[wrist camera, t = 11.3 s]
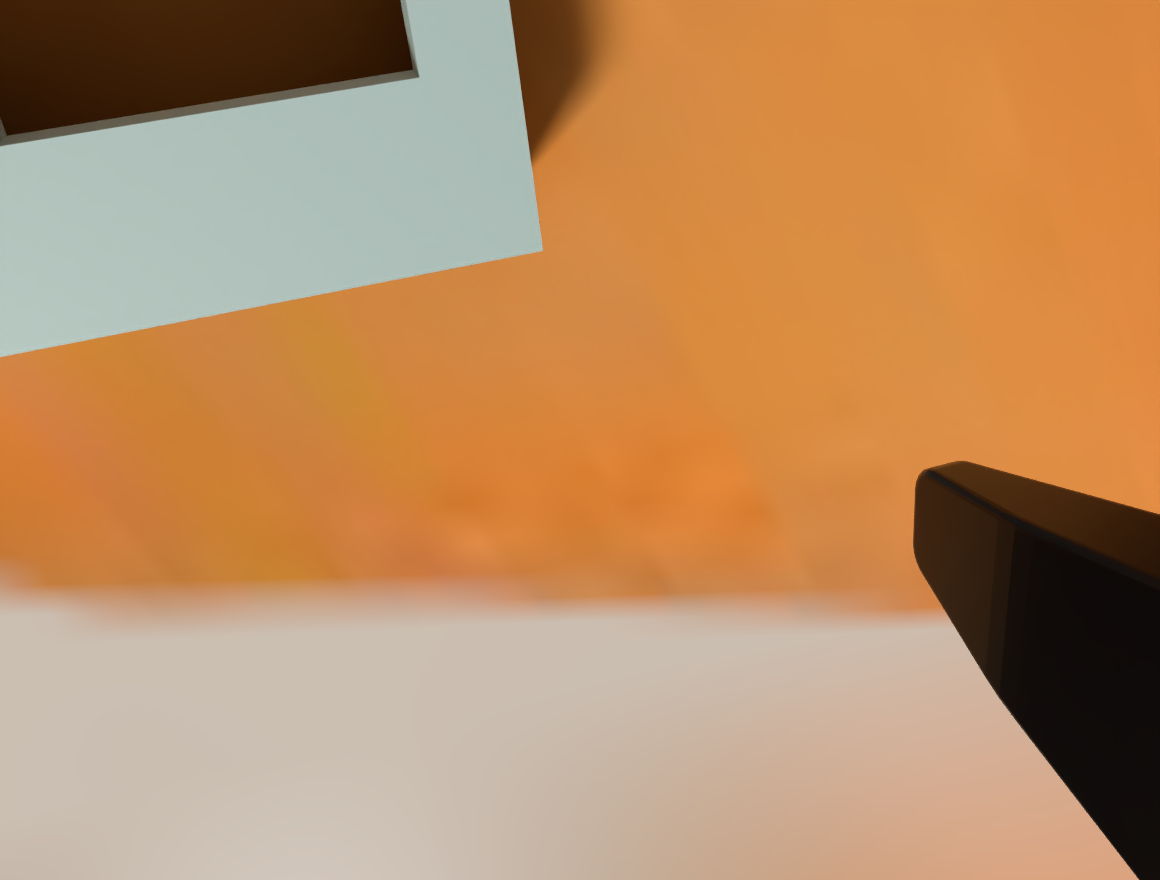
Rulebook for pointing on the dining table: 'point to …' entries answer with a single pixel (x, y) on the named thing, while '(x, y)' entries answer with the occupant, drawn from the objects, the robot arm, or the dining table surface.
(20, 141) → the keyhole plate
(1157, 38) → the dining table surface
